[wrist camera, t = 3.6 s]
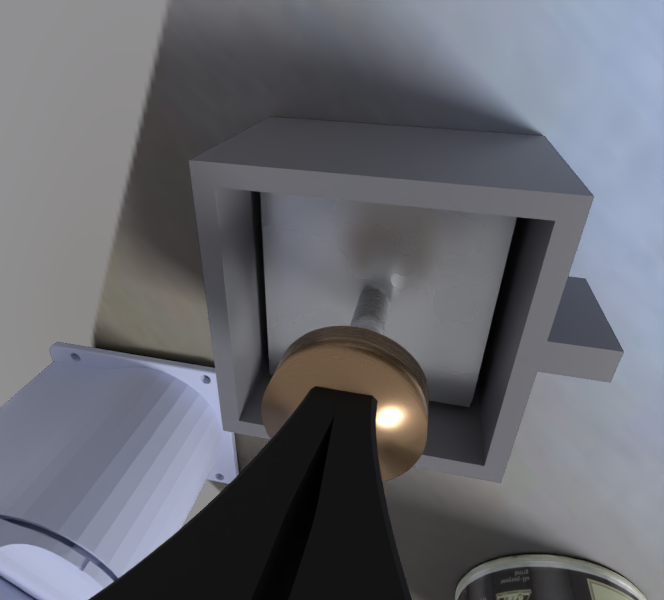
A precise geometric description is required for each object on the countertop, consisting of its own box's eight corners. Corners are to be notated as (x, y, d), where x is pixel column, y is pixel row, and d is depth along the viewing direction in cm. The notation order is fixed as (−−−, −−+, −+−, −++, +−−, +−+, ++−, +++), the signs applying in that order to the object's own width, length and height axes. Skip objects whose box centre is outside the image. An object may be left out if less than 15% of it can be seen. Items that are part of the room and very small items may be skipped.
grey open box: (277, 331, 21) (223, 430, 16) (269, 116, 16) (188, 160, 11) (538, 370, 19) (570, 496, 14) (613, 140, 14) (702, 205, 9)
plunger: (274, 363, 17) (206, 498, 12) (266, 175, 14) (165, 260, 9) (470, 395, 16) (478, 556, 11) (516, 198, 13) (559, 311, 8)
